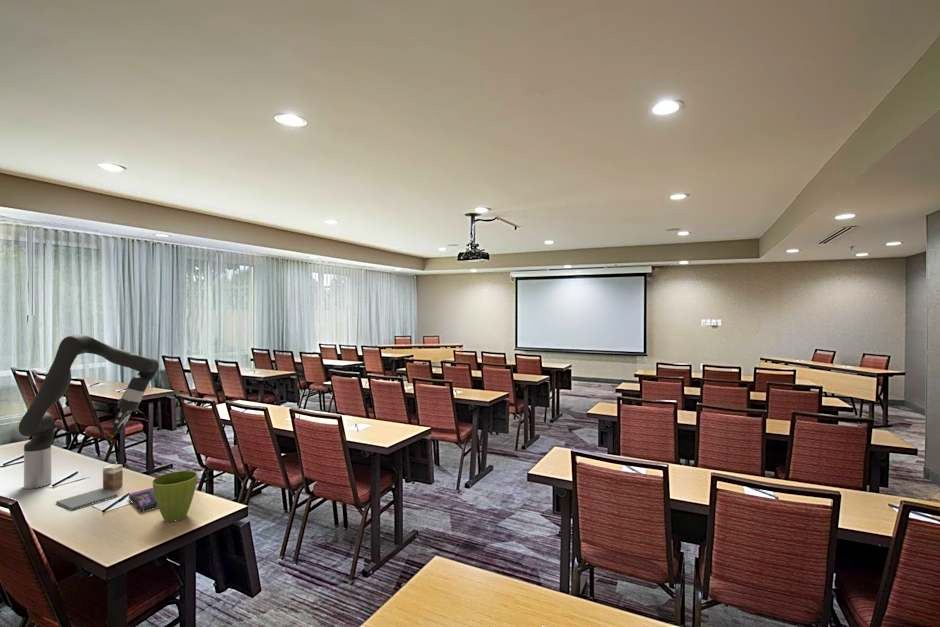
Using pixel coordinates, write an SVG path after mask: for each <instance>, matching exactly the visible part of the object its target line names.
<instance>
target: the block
mask: <svg viewBox="0 0 940 627" xmlns="http://www.w3.org/2000/svg"><path fill="white" fill-rule="evenodd" d="M123 468H124V466H123V464H118V463H117V464H116V463H115V464H109V465H107V466H105V467H103V468H102V489H105V490H108V491H115V490H117V489H119V488H121V487H123V485H124V484H123V481H124V479H123V478H124V477H123V475H124V474H123ZM116 488H117V489H116ZM114 489H115V490H114Z"/></svg>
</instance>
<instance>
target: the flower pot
mask: <svg viewBox="0 0 940 627" xmlns="http://www.w3.org/2000/svg"><path fill="white" fill-rule="evenodd" d="M198 475H199V474H198V473H197V472H196V471H192V470H178V471H173V472H169V473H165V474H162V475H159V476H157V477H155V478H154V479H153V480H152V488H153V489H154V494H155V498H156V502H157V505H158V508H157V509H158V510H159V512H160V515H161V517H162V518H163V520H165V521H164V522H166V521H174V522H176V521H175V520H178V521H180V520H179V519H181V520H183V519H184V517H185V518H186V517H187V516H188V512H189V510H190V507H191V504H192V501H193V499H194V495H195V490H196V487H197V482H198V481H197V480H198ZM182 518H183V519H182Z"/></svg>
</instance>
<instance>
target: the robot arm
mask: <svg viewBox="0 0 940 627" xmlns="http://www.w3.org/2000/svg"><path fill="white" fill-rule="evenodd" d="M83 354H92V355H97V356H99V357H102V358H103V359H104V360H106V361H108V362H109V363H112V364H115V365H118V366H119V367H120V366H121V367H123V368H129V369H131V370H134V371H136V372H138V373H137V374H136V375H135V376H133V377H131V379H130V381H129V383H128V385H127V387H126V388H125V390H124V392H123V394H122V397H121V398H120V401H119V402H118V404H117V408H118V409H121V410H120V411H118V412H116V415H115V418H114V419H113V422H112V423H111V425H112V427H111V429H110V431H109V433H108V435H109V436H115V435H116V434H121V433H122V431H123V429H124V427H125V425H126V424H128V421H129V419H130V417H131V414H132V413H133V412H137V410H138V408H139V405H140V404H141V402H142V400H143V397H144V394H145V391H146V390H147V387H148V385H149V383H150V382H151V381H152V379H153V378H154V377H155V375H156V374H157V372H158V371H159V366H160V364H159V361H158V360H157V359H155V358H150V357H145V356H142V355H140V354H139V355H138V354H136V353H134V352H131V351H127V350H125V349H122V348H121V349H120V348H118V347H114V346H112V345H110V344H106V343H104V342H102V341H100V340H98V339H95V337H92V336H90V335H87V334H83V333H79V334H73V335H69V336H66V337H64V338H63V339H62V340H61V342H60V343H59V345H58V348H57V351H56V354H55V357H54V360H53V361H52V363H51V366H50V367H49V370H48V371H47V374H46V376H45V378H44V379H43V382H42V383H41V385H40V388H39V389H38V391H37V393H36V395H35V397H34V399H33V401H32V402H31V405H30V406H29V407H28V409H27V411H26V412H25V414H23V416H22V418H21V420H20V422H19V423H18V431H19V434H20V435H21V436H23V437H32V438H31V439H30V440H29V441H27V442H26V443H25V444H24V446H23V489H25V490H33V489H38V488H39V487H40V488H43V486H44V487H46V485H47V486H49V485H51V484H50V483H52V443H53V441H54V439H55V438H54V436H55V418H54V417H53V415H52V414H51V413H48V411H49V409H51V407H53V405H55V404H56V403H57V402H58V401H60V399H61V398H63V396H64V395H65V394H66V392H67V391H68V389H69V386H70V384H71V382H72V372H71V370H72V366H73V363H74V362H75V360H76V358H78V356H79V355H83ZM48 484H49V485H48Z"/></svg>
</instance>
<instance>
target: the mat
mask: <svg viewBox="0 0 940 627" xmlns="http://www.w3.org/2000/svg"><path fill="white" fill-rule="evenodd" d="M115 496H117V497H118V493H116V492H113V491H111V490H105V489H103V487H101V488H97V489H93V490H91V491H87V492H84V493H80V494H77V495H74V496H70V497H67V498H63V499H60V500H56V501H55V503H56V505H58V504H59V506H60V505H61V506H60V507H63V508H65V507H66V508H65V509H67V508H68V510H70V509H71V510H70V511H74V509H76V510H78V509H77V508H79V509H81V508H80V507H82V508H84V507H83V506H85V507H87V506H86V505H88V506H90V505H89V504H92V503H95V502H98V501H101V502H103V501H102V500H104V501H106V500H105V499H108V498H111V499H113V498H112V497H114V498H116V497H115ZM108 500H109V499H108ZM98 503H99V502H98ZM95 504H96V503H95ZM92 505H93V504H92Z"/></svg>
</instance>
